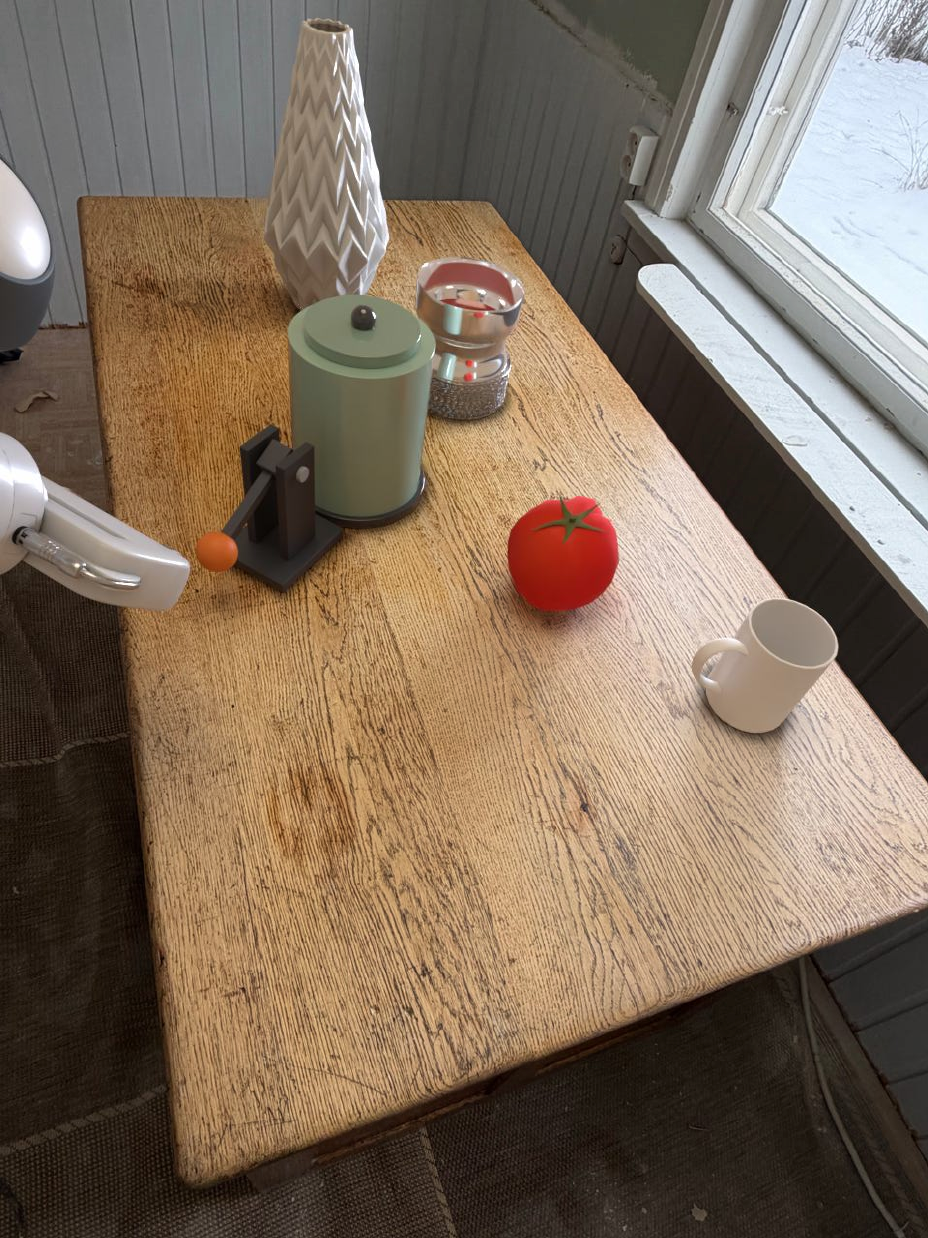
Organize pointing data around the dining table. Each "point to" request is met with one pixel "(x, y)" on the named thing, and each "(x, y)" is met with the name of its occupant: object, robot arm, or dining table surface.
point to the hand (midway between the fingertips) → (121, 531)
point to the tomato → (563, 554)
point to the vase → (325, 175)
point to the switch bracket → (282, 517)
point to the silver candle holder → (468, 333)
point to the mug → (766, 664)
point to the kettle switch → (240, 514)
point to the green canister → (361, 405)
